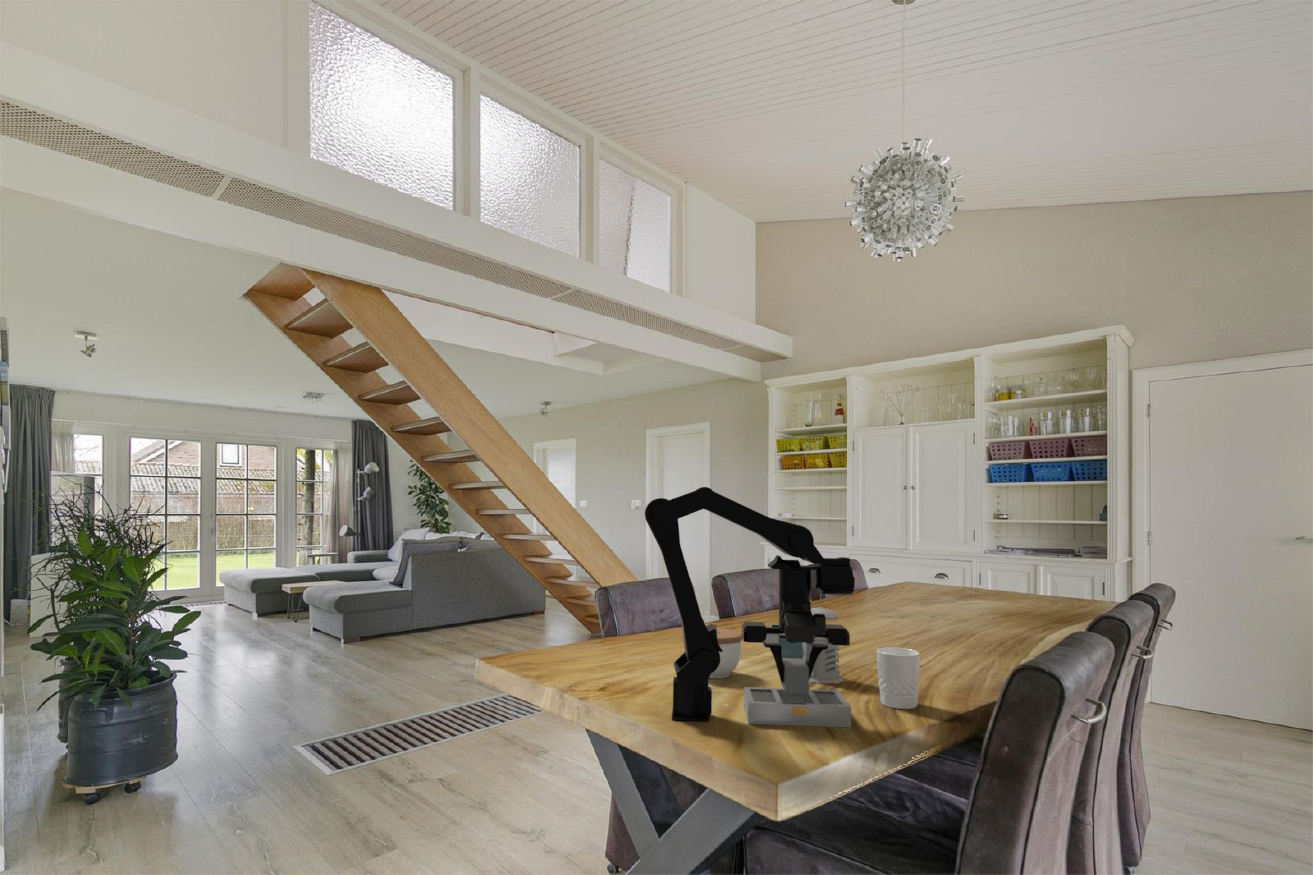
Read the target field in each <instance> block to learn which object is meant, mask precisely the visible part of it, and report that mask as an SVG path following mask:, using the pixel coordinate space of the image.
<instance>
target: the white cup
mask: <svg viewBox="0 0 1313 875" xmlns="http://www.w3.org/2000/svg"><path fill="white" fill-rule="evenodd" d="M920 659H921V658H920V652H919V651H918V650H914V649H910V648H906V647H905V648H904V647H896V646H894V647H893V646H891V647H890V646H887V647H879V648H876V660H877V661H876V662H877V665H876V666H877V677H878V679H877V680H878V689H879V700H880V701H879V702H880V704H881V705H882V706H885V707H888V708H892V709H899V710H912V709H916V708H918V695H919V694H918V692H919V682H920Z"/></svg>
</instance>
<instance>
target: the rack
mask: <svg viewBox="0 0 1313 875" xmlns="http://www.w3.org/2000/svg"><path fill="white" fill-rule="evenodd" d="M743 707H744V708H743V709H744V712H745V716H746V720H747V723H748V725H766V726H767V725H768V726H772V725H774V726H797V727H798V726H800V727H822V728H823V727H824V728H825V727H826V728H852V706H851V705H850V703H849V702H848V701H847V700H846V698H845V697H844V696H843V695H842V693H841V692H840V691H839V690H837V689H812V688H809V694H800V693H785V690H784V688H783V687H782V688H781V687H779V688H778V687H754V686H753V687H750V686H749V687H747V686H744V687H743Z"/></svg>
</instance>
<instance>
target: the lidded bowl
mask: <svg viewBox="0 0 1313 875" xmlns="http://www.w3.org/2000/svg"><path fill="white" fill-rule="evenodd" d="M711 624H712V625H713V626H714V627H715V629H716V633H717V640H718V644H719V646H720V647H721V649H722V650H723V652H719V654H720V664H719V666H718V668H717V669H716V670H715V671H714V672H713V673H711V674H710V676H709V679H726V678H728V677H730V675H731V673H732V672H733V671H735V669H736V668H737V666H738V665H739V663H740V660H741V656H742V649H743V648H742V645H743V644H742V642H743V638H742V632H740V631H738V630H734V629H729V628H723V627H722V628H720V627H718V623H711Z"/></svg>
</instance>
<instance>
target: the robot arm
mask: <svg viewBox="0 0 1313 875" xmlns="http://www.w3.org/2000/svg"><path fill="white" fill-rule="evenodd" d="M702 510H705V511H708V512H710V513H711V514H714V515H715V516H718V517H720V518H722V519H724V520H726V521H729V522H731V523H733V524H735V525H737V526H739V527H742V528H743V529H745V530H747V531H750V532H752V533H754V534H756V535H758V536H759V537H761V538H762V539H763V540H765V541H767V543H769V544H770V545H771V546H772V547H774V548H776V549H777V550H779V551H780V552H781V553H782V554H784V555H787V556H790V557H794V558H797V559H783V558H782V557H781V556H780V555H778V554H777V555H775V557H774V558H773V560H771V561H770V562H769V563H768V564H767V567H768V568H770V569H772V570H778V625H779V627H770V626H766V624H765V623H764V622H763V621H744V622H743V623H742V625H741V633H742V642H745V643H756V644H759V643H760V644H763V646H764V648H768V649H770V652H771V654H772V656H773V659H774V663H775V666H776V669H777V673H778V676H779V680H780V683H781V682H784V671H783V662H782V649H781V644H780V643H779V638H786V641H787V642H789V643H796V642H805V643H807V648H806V662H805V663H806V664H807V666H808V667H809V679H810V676H811V673H812V670H813V667H814V665H815V662H816V660H817V658H818V656H819V654H820V653H821V652H822V650H827V649H828V646H827V642H828V641H829V642H830V643H831V644H832V645H839V646H847V647H848V646H850V645H851V636H850V631H849V630H848V629H847V628H846V627H845V626H843V625H842V624H836V623H835V624H831V623H827V620H826V617H825V614H814V615H812V612H811V609H812V606H811V605H812V604H811V603H812V601H811V600H812V599H811V598H812V596H811V594H812V592H811V589H812V588H813V589H815V590H817V592H818V594H819V596H820V595H821V596H823V595H827V596H828V595H829V596H830V595H831V596H852V595H853V593H854V590H855V576H854V573H853V568H852V565H851V559H850V558H849V557H845V556H843V557H841V556H839V557H835V558H833V557H823V555H822V553H821V552H820V550H818V548H817V546H816V545H815V542H814V540H815V539H814V536H813V533H812V531H811V530H810V529H808V528H807V527H805V526H802V525H800V524H795V523H792V522H787V521H785V520H780V519H777V518H773V517H770V516H767V515H765V514H763V513H761V512H758V511H756V510H755V509H752V508H750V507H748V506H745V504H741V503H739V502H736V501H735V500H732V499H731V498H729V497H727V496H724V495H722V494H721V493H718V492H716V491H714V490H713V489H712V488H710V487H708V486H701V487H699V488H695V490H693V491H691V492H687V493H686V494H683V495H680V496H679V495H678V496H677V497H674V498H672V499H667V498H664V497H661V498H655V499H652V500H651V501H649V502H648V503H647V505H646V507H645V509H644V519H645V521H646V523H647V525H648V527H649V529H650V531H651V534H652V535H653V537H654V539H655V541H656V543H657V546H659V549H660V551H661V555H662V558H663V562H664V565H665V569H666V573H667V575H668V579H669V582H670V585H671V589H672V592H673V596H674V599H675V602H676V606H677V608H678V613H679V616H680V620H681V626H682V637H683V646H684V652H683V653H682V654H681V655H680V656H679V657H678V658H676V660H675V661H674V662H673V668H674V671H675V675H676V676H673V680H672V681H673V682H672V684H673V685H672V708H671V709H672V711H671V719H672V720H681V721H682V720H683V721H704V722H707V721H710V716H711V715H712V710H713V709H712V700H713V696H712V694H713V691H712V687H711V686H709V679H710V678H709V676H710V674H711V673H713V672H714V671H715V670H716V669H717V668H718V666H719V664H720V654H719V652H723V650H722V649H721V647H720V646H719V644H718V640H717V633H716V629H715V627H714V626H713V625H712V624H713V623H710V624H708V625H706V624H705V622H704V619H703V618H702V614H701V611H700V607H699V603H698V600H697V597H696V593H695V590H694V587H693V583H692V580H691V577H690V573H689V570H688V566H687V564H686V560H685V557H684V553H683V549H682V546H681V537H680V526H679V519H681V518H683V517H687V516H689V515H691V514H694V513H696V512H699V511H702ZM799 558H800V559H801V560H802V561H803V562H804V561H805V562H807V563H810V564H813V565H806V564H805V565H804V564H802V565H801V562H800V560H798V559H799ZM811 587H812V588H811Z"/></svg>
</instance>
